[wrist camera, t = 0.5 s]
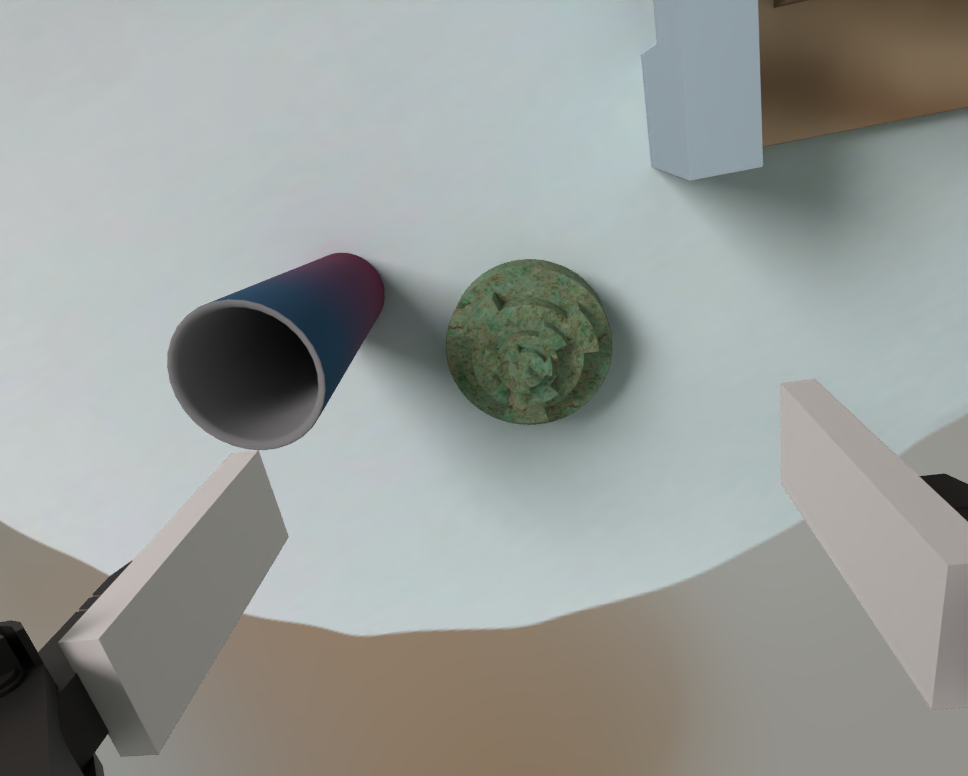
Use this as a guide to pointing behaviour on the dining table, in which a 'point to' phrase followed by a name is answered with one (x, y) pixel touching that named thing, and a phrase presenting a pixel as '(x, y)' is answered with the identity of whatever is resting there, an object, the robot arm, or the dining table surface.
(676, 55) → the slotted plate
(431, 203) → the dining table surface
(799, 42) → the jig
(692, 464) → the dining table surface
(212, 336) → the cup
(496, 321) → the decorative artifact
